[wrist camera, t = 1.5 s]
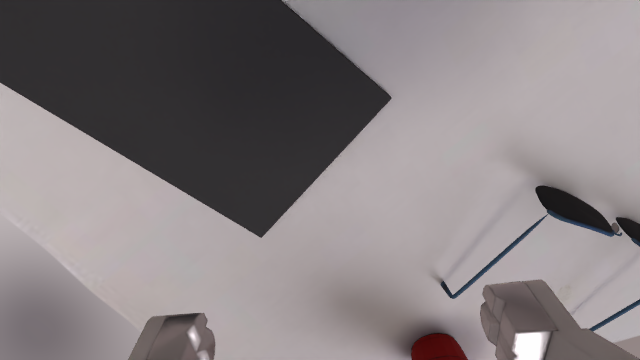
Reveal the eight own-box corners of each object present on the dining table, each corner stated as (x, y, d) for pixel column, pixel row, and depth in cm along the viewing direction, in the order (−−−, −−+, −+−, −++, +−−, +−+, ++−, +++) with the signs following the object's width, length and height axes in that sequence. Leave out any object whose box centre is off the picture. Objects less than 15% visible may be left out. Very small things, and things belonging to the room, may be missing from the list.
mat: (-24, 64, 27) (-29, 65, 26) (61, -193, 20) (56, -196, 19) (261, 235, 35) (261, 238, 35) (390, 96, 28) (391, 98, 28)
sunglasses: (665, 233, 35) (706, 273, 31) (553, 309, 44) (574, 349, 40) (527, 174, 32) (555, 211, 28) (434, 269, 40) (444, 308, 36)
